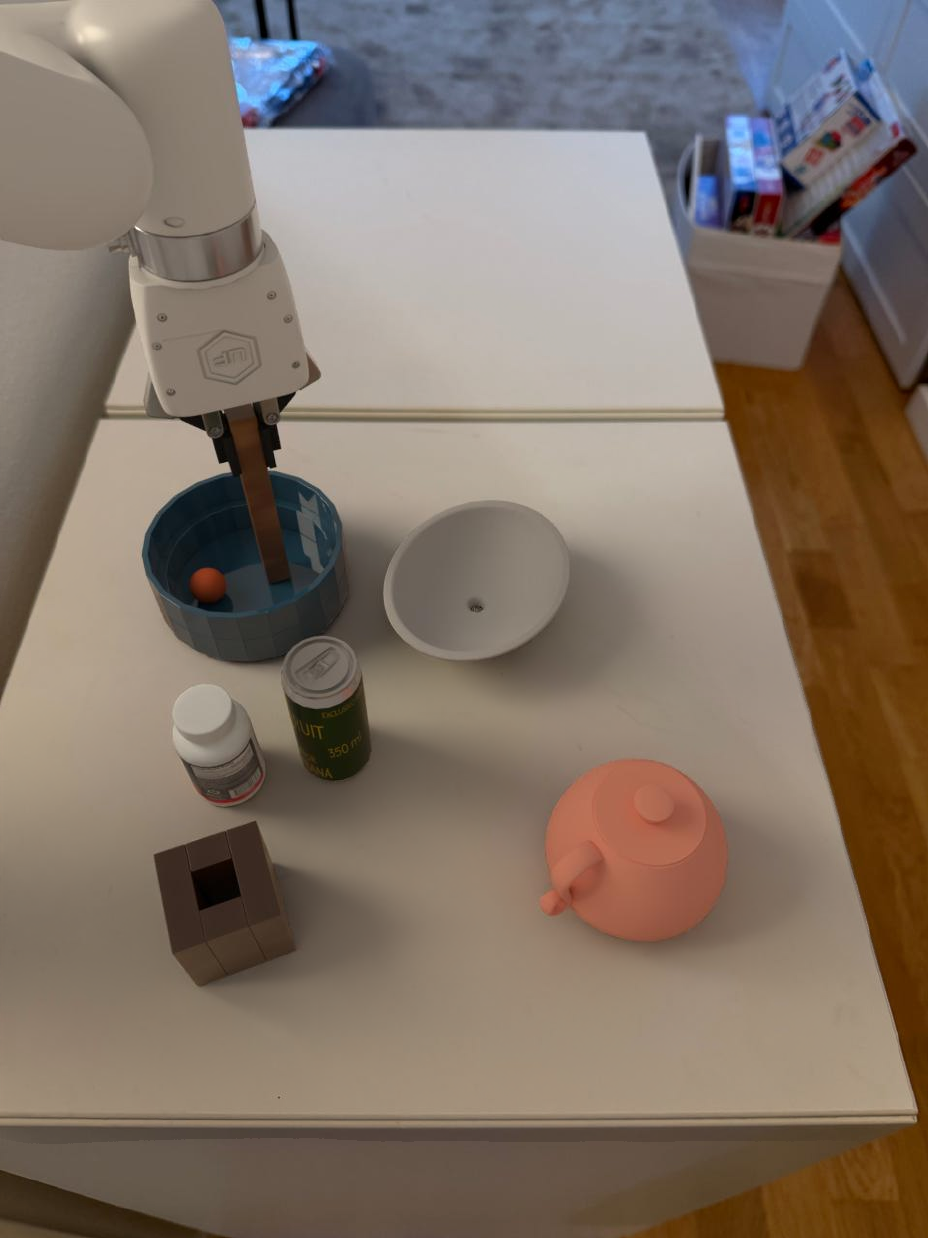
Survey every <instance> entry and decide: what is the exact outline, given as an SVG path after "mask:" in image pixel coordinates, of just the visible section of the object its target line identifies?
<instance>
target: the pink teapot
mask: <svg viewBox="0 0 928 1238" xmlns="http://www.w3.org/2000/svg"><path fill="white" fill-rule="evenodd" d="M545 832H546V833H545V841H544V846H545V847H544V848H545V849H544V850H545V851H544V853H545V859H546V864H547V868H548V871H549V875H550V882H551V884H552V887H553V888H552V889H550V890H549V891H547V892H546V893H544V894H543V895H542V896H541V898H540V899H539V906H540V908H541V910H542V912H543V913H544V914H546V916H549V917H555V916H558V915H560V914H562V913H564V912H565V911H566V910H567V909H569V908H570V909H571V910H572V911H573V912H574V913H576V915H577V916H578V917H579V918H581V919H582V920H583V921H585V923H587V924H588V925H590V926H592V927H593V928H595V929H597V930H598V931H600V932H602V933H605V934H608V935H610V936H611V937H615V938H619V939H622V940H627V941H634V942H656V941H663V940H666V939H671V938H673V937H676V936H679V935H682V934H683V933H685V932H687V931H689V930H691V929H692V928H694V927H695V926H697V924H699V923H700V922H701V921H703V920H704V918H705V917H706V916H707V915H708V914H710V911H711V910H712V909H713V907H714V906H715V904H716V903H717V901H718V899H719V897H720V895H721V893H722V890H723V888H724V885H725V882H726V877H727V871H728V863H729V851H728V850H729V849H728V848H729V847H728V841H727V835H726V831H725V827H724V824H723V821H722V819H721V816H720V814H719V812H718V810H717V808H716V806H715V805H714V802H713V801H712V800H711V799H710V797H709V795H708V794H707V793H706V792H705V791H704V790H703V788H701V786H700V785H698V783H696V782H695V781H694V780H693V779H692V778H691V777H689V776H688V775H687V774H685V773H684V772H682V771H681V770H680V769H678V768H675V767H673V766H672V765H669V764H666V763H664V762H660V761H657V760H655V759H654V760H653V759H647V758H622V759H617V760H611V761H609V762H606V763H603V764H601V765H599V766H597V767H594V768H592V769H590V770H589V771H587V772H585V773H584V774H583V775H580V777H579V778H577V779H576V780H575V781H574V782H573V783H572V784H571V785H570V786H569V787H568V788H567V789H566V790H565V792H564V793H563V794H562V795H561V796H560V798H559V799H558V801H557V803H556V805H555V806H554V808H553V810H552V813H551V815H550V817H549V821H548V824H547V828H546V831H545Z"/></svg>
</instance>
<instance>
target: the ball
mask: <svg viewBox="0 0 928 1238" xmlns="http://www.w3.org/2000/svg"><path fill="white" fill-rule="evenodd" d="M189 587H190V591H191V594H192V595H193V597H194V598H195V599H197V600H198V601H200V602H202V603H214V602H216V601H218V600H220V599H221V598H222V597H223V595H224V594H225V591H226V580H225V578H224V576H223V575H222V574H221V573H220V572H219V571H218V570H216V569H213V568H202V569H200V570H198V571H196V572H195V573H194V574H193V576H192V577H191V580H190V584H189Z"/></svg>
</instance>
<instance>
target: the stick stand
mask: <svg viewBox="0 0 928 1238" xmlns="http://www.w3.org/2000/svg"><path fill="white" fill-rule="evenodd" d="M152 856H153V861H154V866H155V872H156V877H157V882H158V887H159V893H160V898H161V903H162V909H163V913H164V920H165V924H166V930H167V935H168V939H169V940H168V941H169V946H170V950H171V951H170V952H171V954H172V956H173V957H174V958H175V959H176V960H177V962H178V963H179V964H180V966H181V967H182V969H183V970H184V972H185V973H187V975H188V976H189V978H190V979H191V980H192V981H193V982H194V984H195V985H196V986H197V987H198V988H199V987H201V986H204V985H207V984H210V983H213V982H215V981H217V980H220V979H223V978H226V977H228V976H231V975H235V974H237V973H239V972H242V971H245V970H248V969H250V968H253V967H255V966H258V965H261V964H264V963H267V962H270V961H272V960H274V959H277V958H279V957H282V956H285V955H288V954H290V953H293V952H295V951H297V948H296V944H295V940H294V937H293V932H292V929H291V926H290V922H289V919H288V915H287V910H286V907H285V903H284V899H283V895H282V892H281V888H280V885H279V881H278V877H277V873H276V869H275V866H274V863H273V860H272V857H271V854H270V852H269V850H268V847H267V845H266V843H265V839H264V837H263V834H262V832H261V829H260V827H259V823H258V822H257V820H253V821H250V822H247V823H243V824H240V825H238V826H235V827H232V828H228V829H226V830H222V831H220V832H217V833H214V834H211V835H208V836H205V837H202V838H198V839H195V840H193V841H190V842H187V843H185V844H180V845H177V846H175V847H171V848H168V849H165V850H162V851H160V852H157V853H154V854H153V855H152Z"/></svg>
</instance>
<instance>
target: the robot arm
mask: <svg viewBox="0 0 928 1238" xmlns="http://www.w3.org/2000/svg"><path fill="white" fill-rule="evenodd" d="M244 131H245V130H244V124H243V118H242V112H241V107H240V101H239V96H238V90H237V85H236V79H235V72H234V66H233V61H232V56H231V51H230V44H229V38H228V35H227V30H226V25H225V22H224V19H223V17H222V14H221V12H220V10H219V9H218V6H217V5H216V3H215V2H214V1H213V0H59V1H45V2H31V3H29V2H27V3H5V4H0V241H2V242H7V243H12V244H17V245H20V246H26V247H31V248H35V249H43V250H52V251H61V252H62V251H63V252H64V251H85V250H89V249H90V250H91V249H96V248H99V247H102V246H104V245H106V246H107V249H108V252H109V254H112V253H117V252H122V253H123V254H126V253H130V256H129V258H128V277H129V289H130V297H131V304H132V307H133V312H134V318H135V323H136V324H135V325H136V328H137V331H138V336H139V340H140V344H141V347H142V351H143V355H144V359H145V362H146V366H147V369H148V373H147V378H146V383H145V389H144V395H143V405H144V406H143V407H144V409H145V413H146V415H147V416H148V417H150V418H154V419H166V420H175V419H179V420H180V421H181V422H183V423H186V424H188V425H189V426H193V427H194V428H197V429H199V430H202V431H204V432H205V433H206V435H207V437H208V438H210V439H211V440H212V444H213V448H214V452H215V456H216V458H217V462H218V464H219V465H221V464H225V463H228V466H229V469H230V472H232V475H233V478H235V477H239V476H240V474H242V471H241V467H240V463H239V459H238V455H237V451H236V447H235V443H234V439H233V435H232V433H231V432H230V429H229V426H228V423H227V420H226V417H225V414H224V412H223V411H224V409H228V408H233V407H237V406H242V405H246V404H250V403H251V404H252V406H253V409H254V412H255V414H256V417H257V422H258V431H259V436H260V441H261V445H262V450H263V454H264V459H265V463H266V467H267V468H269V470H272V469H276V468H278V467H277V461H276V456H275V453H274V452H275V451H279V450H282V443H281V439H280V434H279V433H280V432H279V428H278V423H280V420H281V413H282V412H283V411H284V409H285V408H286V407H287V406H288V405H289V403H290V402H291V401H292V399H293V398H294V397H295V396H296V395H297V392H298V391H302V390H304V389H306V388H307V387H309V386H311V385H312V384H314V383H315V382H318V380H320V379H321V377H322V372H321V370H320V368H319V365H318V363H317V361H316V360H315V358H314V357H313V355H312V354H311V353H310V351H309V350H308V348H307V347H306V345H305V341H304V335H303V332H302V327H301V322H300V318H299V313H298V309H297V305H296V300H295V296H294V293H293V289H292V284H291V281H290V279H289V278H290V277H289V276H288V272H287V270H286V266H285V263H284V260H283V258H282V255H281V253H280V251H279V248H278V246H277V244H276V243H275V242H274V240H273V239H272V237H271V235H269V233H268V232H267V231H266V230H264V229H262V225H261V220H260V214H259V209H258V202H257V198H256V193H255V187H254V181H253V175H252V170H251V165H250V164H251V163H250V158H249V154H248V148H247V147H248V146H247V142H246V136H245V132H244Z"/></svg>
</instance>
